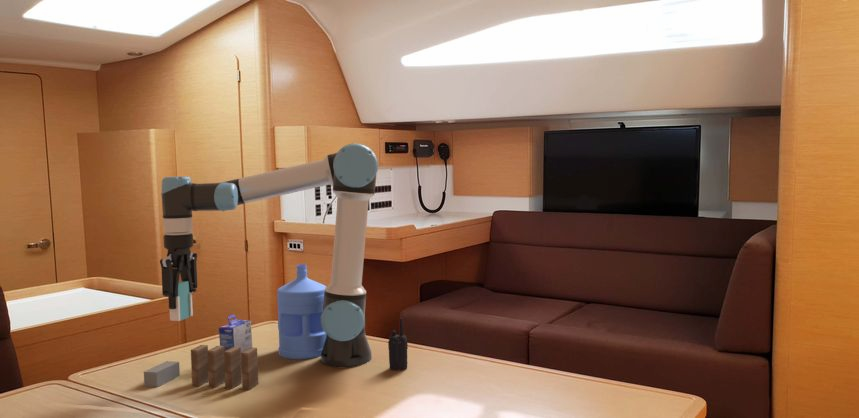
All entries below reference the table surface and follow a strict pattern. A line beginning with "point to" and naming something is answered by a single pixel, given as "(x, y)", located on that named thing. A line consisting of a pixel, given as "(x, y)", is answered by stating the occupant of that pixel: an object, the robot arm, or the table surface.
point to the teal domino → (184, 299)
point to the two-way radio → (398, 350)
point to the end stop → (161, 374)
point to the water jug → (301, 317)
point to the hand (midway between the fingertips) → (181, 317)
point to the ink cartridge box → (236, 334)
